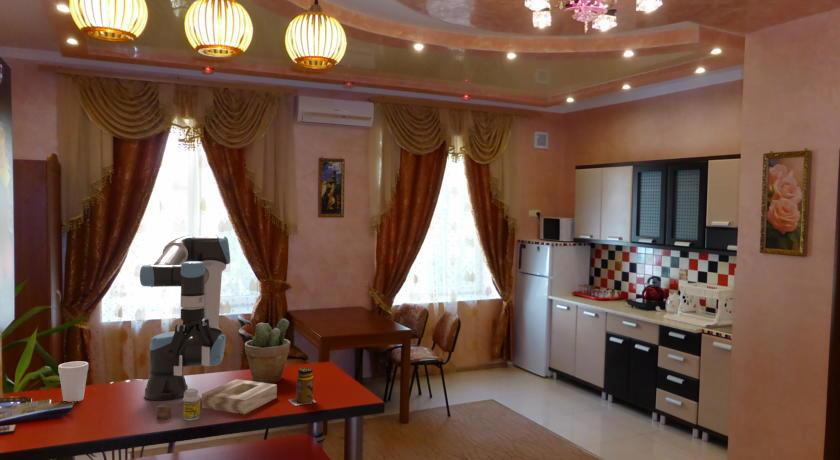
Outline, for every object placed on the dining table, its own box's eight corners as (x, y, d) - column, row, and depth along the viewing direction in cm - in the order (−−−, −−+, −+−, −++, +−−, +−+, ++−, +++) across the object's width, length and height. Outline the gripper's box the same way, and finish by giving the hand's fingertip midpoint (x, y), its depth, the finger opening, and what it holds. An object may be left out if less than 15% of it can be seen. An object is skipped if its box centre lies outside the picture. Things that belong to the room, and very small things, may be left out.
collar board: (201, 407, 215) (201, 393, 215) (236, 391, 234) (236, 379, 234) (244, 414, 209) (244, 400, 209) (276, 397, 228) (276, 384, 228)
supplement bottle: (201, 415, 208) (201, 387, 207) (199, 420, 203) (199, 392, 202) (184, 416, 207) (184, 388, 206) (181, 421, 201) (182, 393, 201)
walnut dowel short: (153, 418, 203) (153, 407, 203) (163, 414, 208) (163, 403, 207) (164, 420, 202) (164, 408, 202) (173, 416, 206) (173, 404, 206)
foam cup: (72, 394, 227) (72, 360, 226) (93, 397, 225) (93, 362, 224) (52, 402, 217) (52, 367, 217) (74, 405, 215) (74, 368, 215)
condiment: (316, 402, 224) (317, 370, 223) (295, 406, 219) (295, 373, 219) (309, 397, 230) (309, 365, 229) (287, 400, 225) (288, 368, 225)
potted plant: (265, 388, 239) (266, 326, 238) (234, 380, 249) (234, 320, 248) (298, 378, 254) (299, 319, 253) (267, 371, 265) (268, 314, 264)
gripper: (175, 314, 190) (174, 381, 191) (225, 303, 214) (224, 362, 214) (156, 312, 193) (155, 378, 193) (207, 301, 216) (207, 360, 217)
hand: (192, 370), depth 204 cm, fingers open, 13 cm apart
